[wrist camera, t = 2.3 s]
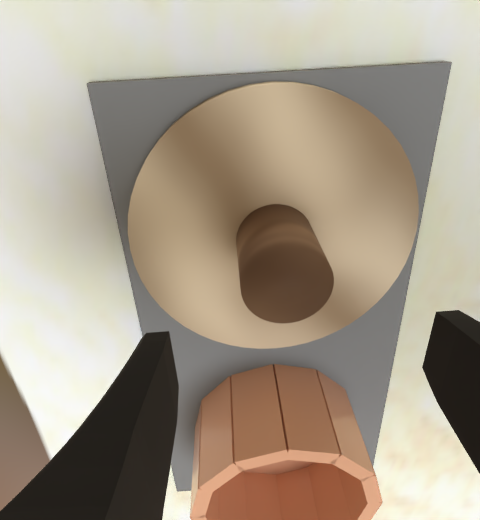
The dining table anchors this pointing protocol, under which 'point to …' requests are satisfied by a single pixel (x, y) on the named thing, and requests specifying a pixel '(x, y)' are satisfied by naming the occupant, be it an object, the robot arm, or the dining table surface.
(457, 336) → the robot arm
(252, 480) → the bowl
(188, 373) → the mat
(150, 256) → the lid
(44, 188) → the dining table surface
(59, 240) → the dining table surface
